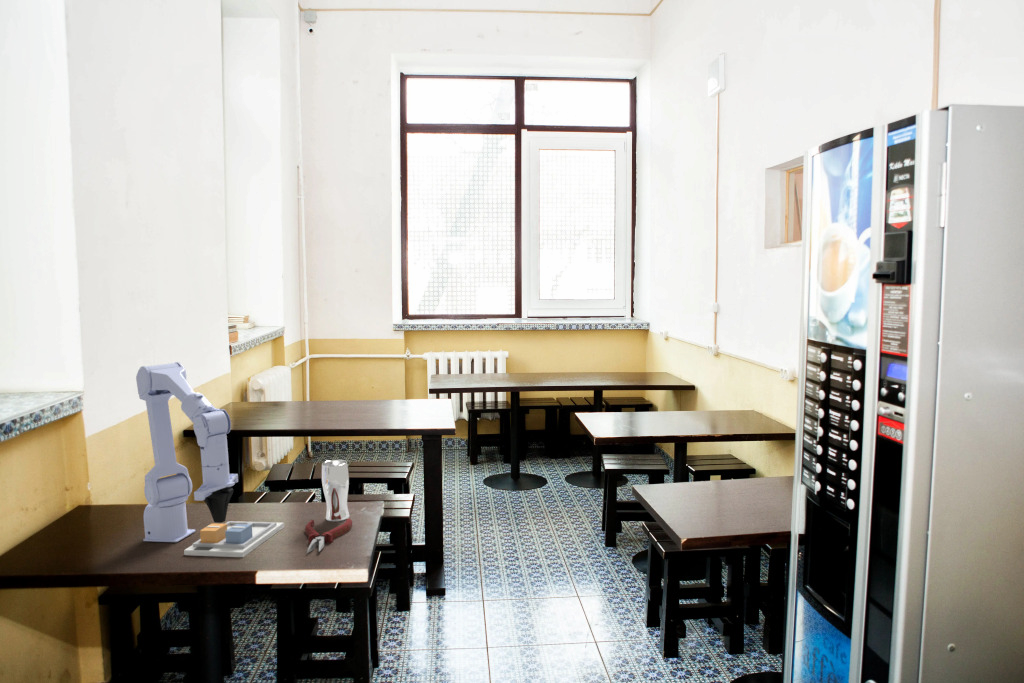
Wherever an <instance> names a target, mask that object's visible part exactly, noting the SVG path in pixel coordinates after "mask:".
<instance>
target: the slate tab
mask: <svg viewBox="0 0 1024 683" xmlns="http://www.w3.org/2000/svg"><path fill="white" fill-rule="evenodd" d="M225 535H226V543H229V544H243V543H245V542H246V541H248V540H249V539H251V538H252V537H253V536H252V524H236V525H234V526H233V527H231V528H229V529H228V530H226V531H225Z"/></svg>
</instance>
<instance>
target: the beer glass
mask: <svg viewBox="0 0 1024 683" xmlns="http://www.w3.org/2000/svg"><path fill="white" fill-rule="evenodd" d="M321 484H322V486H321V487H322V490H323V494H324V498H325V502H326V503H325V504H326V512H325V513H326V514H325V520H326V521H328V522H332V523H333V522H335V523H336V522H341V521H342V522H343V521H346V520H347V518H349V519H350V512H349V507H348V495H349V485H350V476H349V466H348V461H347V460H345V459H332V460H326V461H323V462H322V463H321Z"/></svg>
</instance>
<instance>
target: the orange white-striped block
mask: <svg viewBox="0 0 1024 683" xmlns="http://www.w3.org/2000/svg"><path fill="white" fill-rule="evenodd" d="M226 530H227V524H225V523H210V524H209V525H207V526H205V527H204V528H202V529H200V530H199V534H200V535H199V536H200V537H199V538H200V539H201V543H219V542H220V541H222V540H223V539H225V538H226V535H225V531H226Z"/></svg>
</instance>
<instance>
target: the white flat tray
mask: <svg viewBox="0 0 1024 683" xmlns="http://www.w3.org/2000/svg"><path fill="white" fill-rule="evenodd" d="M224 524H227V530H228V529H229V528H231V527H233V526H234V525H236V524H252V536H253V537H252V538H251V539H249V540H248V541H246V542H245V543H243V544H229V543H226V538H225V539H223V540H222V541H220V542H219V543H201V538H199V539H198V540H196V541H195V542H193V543H192V545H190V546H188V547H187V548H185V549H184V550H183V551H184V552H183V553H184V554H183V555H184V556H198V557H199V556H200V557H202V556H203V557H224V558H225V557H226V558H227V557H228V558H244V557H245V556H247V555H249V554H250V553H251V552H252V551H254V550H255V549H256V548H258V547H260V545H262V544H264V543H265V542H266V541H267V540H269V539H270V538H271V537H273V536H274V535H275V534H277V533H278V532H280V530H282V529H284V528H285V522H278V521H277V522H275V521H273V522H271V521H270V522H268V521H243V520H242V521H239V520H236V521H232V520H229V521H226V522H225V523H224Z"/></svg>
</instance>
